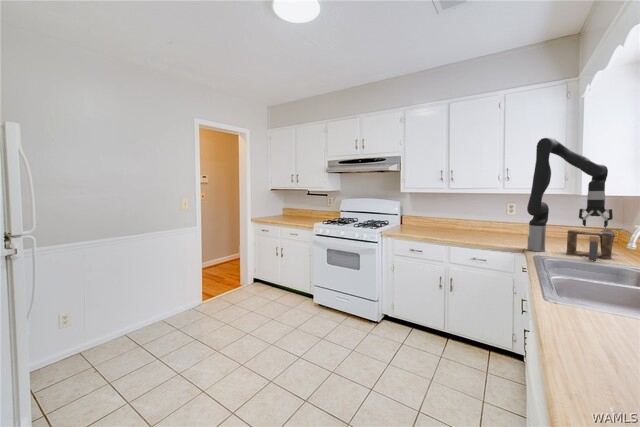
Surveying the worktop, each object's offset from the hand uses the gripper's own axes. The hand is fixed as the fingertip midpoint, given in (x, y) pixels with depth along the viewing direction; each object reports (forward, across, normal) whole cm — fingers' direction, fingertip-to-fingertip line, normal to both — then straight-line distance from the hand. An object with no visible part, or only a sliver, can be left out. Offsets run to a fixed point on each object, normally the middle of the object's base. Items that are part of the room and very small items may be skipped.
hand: (594, 226), depth 169 cm
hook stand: (+20, -3, +11) cm, 23 cm away
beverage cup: (+20, +4, +28) cm, 35 cm away
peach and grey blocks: (+20, 0, 0) cm, 20 cm away
